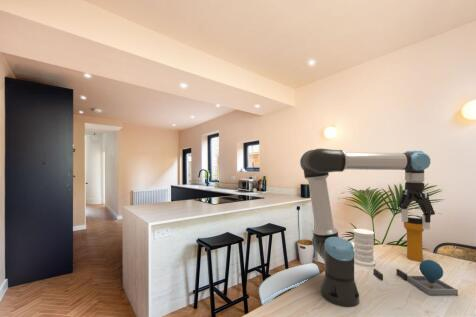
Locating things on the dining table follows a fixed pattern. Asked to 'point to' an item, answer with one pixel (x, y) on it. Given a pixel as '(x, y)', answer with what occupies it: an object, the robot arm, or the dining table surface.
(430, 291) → the parts tray
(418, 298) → the dining table surface
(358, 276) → the dining table surface
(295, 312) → the dining table surface
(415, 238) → the flashlight
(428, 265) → the light bulb
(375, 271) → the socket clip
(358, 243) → the decorative container
